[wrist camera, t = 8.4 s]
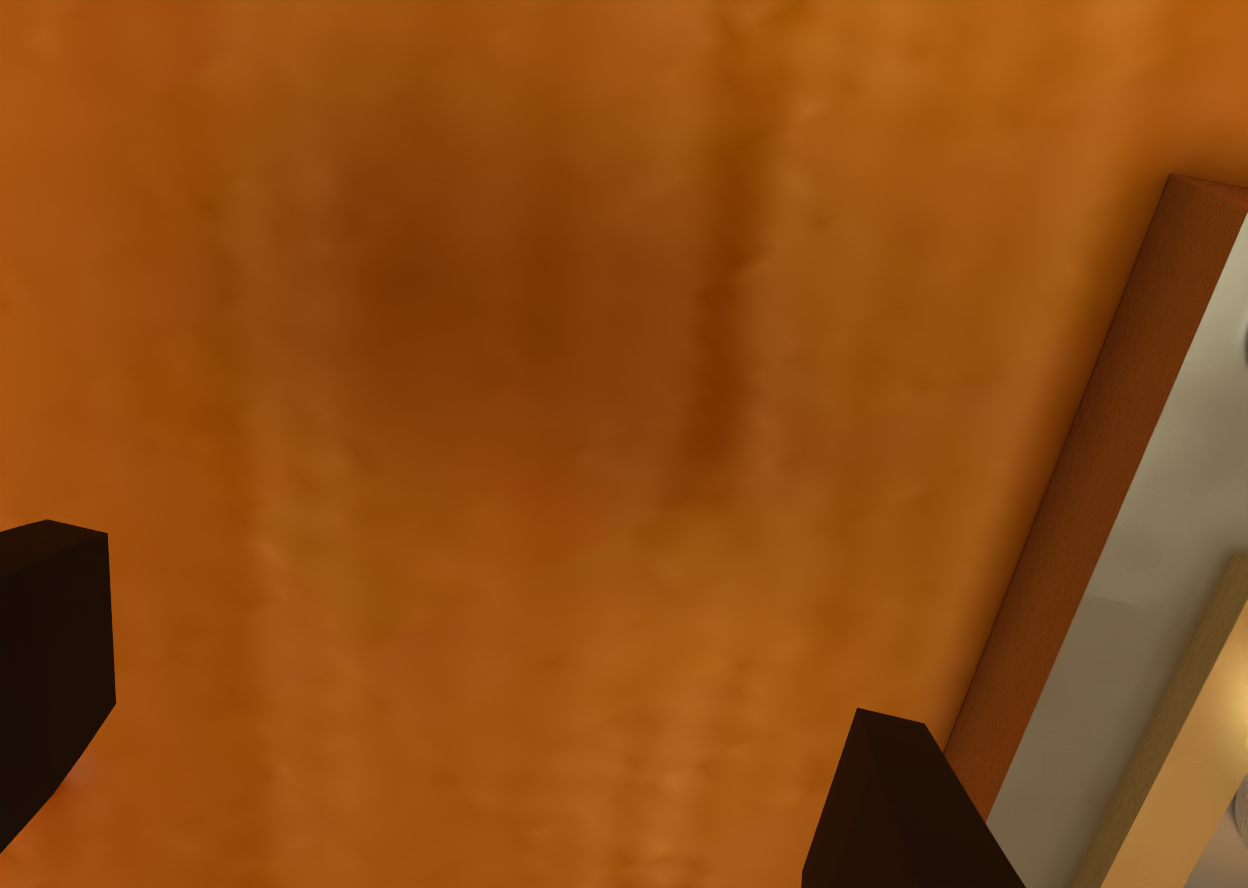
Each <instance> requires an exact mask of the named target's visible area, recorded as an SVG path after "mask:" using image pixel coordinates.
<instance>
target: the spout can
mask: <svg viewBox="0 0 1248 888" xmlns="http://www.w3.org/2000/svg"><path fill="white" fill-rule="evenodd" d="M1235 819H1236V824H1237V829H1238V831H1239V833H1240V836H1241V838H1242V840H1243V842H1244V844H1245V846H1246V847H1247V849H1248V772H1247V774H1246V775H1245V777H1244V779H1243V781H1242V783H1241V784H1240V786H1239V788H1238V791H1237V795H1236V801H1235Z"/></svg>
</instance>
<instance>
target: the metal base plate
mask: <svg viewBox="0 0 1248 888" xmlns="http://www.w3.org/2000/svg"><path fill="white" fill-rule="evenodd" d="M944 756H945V758H946V759H947V761H948V763H949V764H950V766H951V768H952V769H953V771H954V772H955V774H956V776H957V777H958V779H959V781H960V782H961V784H962V786H963V787H964V789H965V791H966V792H967V794H968V795H969V797H970V799H971V800H972V802H973V804H974V805H975V807H976V809H977V810H978V812H979V813H980V815H981V817H982V818H983V820H984V822H985V823H986V825H987V826H988V828H989V830H990V831H991V833H992V835H993V836H994V838H995V839H996V841H997V843H998V844H999V846H1000V847H1001V849H1002V851H1003V852H1004V854H1005V855H1006V857H1007V858H1008V860H1009V862H1010V863H1011V865H1012V866H1013V868H1014V869H1015V871H1016V873H1017V874H1018V876H1019V877H1020V879H1021V880H1022V882H1023V883H1024V885H1025V886H1026V888H1248V849H1247V847H1246V846H1245V844H1244V842H1243V840H1242V838H1241V836H1240V833H1239V831H1238V829H1237V824H1236V819H1235V801H1236V795H1237V791H1238V788H1239V786H1240V784H1241V783H1242V781H1243V779H1244V777H1245V775H1246V774H1247V772H1248V189H1245V188H1240V187H1235V186H1230V185H1225V184H1220V183H1215V182H1210V181H1204V180H1199V179H1194V178H1189V177H1184V176H1179V175H1174V174H1171V175H1170V177H1169V180H1168V182H1167V185H1166V187H1165V190H1164V193H1163V195H1162V198H1161V200H1160V203H1159V205H1158V208H1157V210H1156V213H1155V216H1154V218H1153V221H1152V223H1151V226H1150V228H1149V231H1148V233H1147V236H1146V239H1145V241H1144V244H1143V246H1142V249H1141V251H1140V254H1139V256H1138V259H1137V262H1136V264H1135V267H1134V269H1133V272H1132V274H1131V277H1130V279H1129V282H1128V285H1127V287H1126V290H1125V292H1124V295H1123V297H1122V300H1121V302H1120V305H1119V308H1118V310H1117V313H1116V315H1115V318H1114V320H1113V323H1112V326H1111V328H1110V331H1109V333H1108V336H1107V338H1106V341H1105V343H1104V346H1103V349H1102V351H1101V354H1100V356H1099V359H1098V361H1097V364H1096V366H1095V369H1094V372H1093V374H1092V377H1091V379H1090V382H1089V384H1088V387H1087V389H1086V392H1085V395H1084V397H1083V400H1082V402H1081V405H1080V407H1079V410H1078V412H1077V415H1076V418H1075V420H1074V423H1073V425H1072V428H1071V430H1070V433H1069V435H1068V438H1067V441H1066V443H1065V446H1064V448H1063V451H1062V453H1061V456H1060V458H1059V461H1058V464H1057V466H1056V469H1055V471H1054V474H1053V476H1052V479H1051V482H1050V484H1049V487H1048V489H1047V492H1046V494H1045V497H1044V499H1043V502H1042V505H1041V507H1040V510H1039V512H1038V515H1037V517H1036V520H1035V522H1034V525H1033V528H1032V530H1031V533H1030V535H1029V538H1028V540H1027V543H1026V545H1025V548H1024V551H1023V553H1022V556H1021V558H1020V561H1019V563H1018V566H1017V568H1016V571H1015V574H1014V576H1013V579H1012V581H1011V584H1010V586H1009V589H1008V591H1007V594H1006V597H1005V599H1004V602H1003V604H1002V607H1001V609H1000V612H999V614H998V617H997V620H996V622H995V625H994V627H993V630H992V632H991V635H990V638H989V640H988V643H987V645H986V648H985V650H984V653H983V655H982V658H981V661H980V663H979V666H978V668H977V671H976V673H975V676H974V678H973V681H972V684H971V686H970V689H969V691H968V694H967V696H966V699H965V701H964V704H963V707H962V709H961V712H960V714H959V717H958V719H957V722H956V724H955V727H954V730H953V732H952V735H951V737H950V740H949V742H948V745H947V747H946V750H945V753H944Z"/></svg>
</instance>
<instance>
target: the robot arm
mask: <svg viewBox="0 0 1248 888" xmlns="http://www.w3.org/2000/svg"><path fill="white" fill-rule="evenodd" d="M115 704H116V693H115V673H114V652H113V632H112V612H111V591H110V571H109V551H108V533H104V532H100V531H95V530H91V529H87V528H83V527H78V526H74V525H70V524H65V523H61V522H57V521H52V520H43V521H39V522H35V523H31V524H27V525H23V526H20V527H16V528H13V529H9V530H6V531H2V532H0V854H1V852H2V851H3V850H4V849H5V848H6V847H7V846H8V845H9V843H10V842H11V841H12V840H13V839H14V838H15V837H16V836H17V835H18V833H19V832H20V831H21V830H22V829H23V828H24V827H25V826H26V824H27V823H28V822H29V821H30V820H31V819H32V818H33V817H34V815H35V814H36V813H37V812H38V811H39V810H40V809H41V807H42V806H43V805H44V804H45V803H46V802H47V801H48V799H49V798H50V797H51V796H52V795H53V794H54V792H55V791H56V789H57V788H58V787H59V785H60V784H61V783H62V781H63V780H64V778H65V777H66V776H67V774H68V773H69V771H70V770H71V769H72V767H73V766H74V765H75V763H76V762H77V760H78V759H79V758H80V756H81V755H82V754H83V752H84V751H85V749H86V748H87V746H88V745H89V743H90V742H91V740H92V739H93V737H94V736H95V734H96V733H97V731H98V730H99V728H100V727H101V725H102V724H103V722H104V721H105V719H106V718H107V716H108V715H109V713H110V712H111V710H112V709H113V707H114V706H115ZM801 888H1026V886H1025V885H1024V883H1023V882H1022V880H1021V879H1020V877H1019V876H1018V874H1017V873H1016V871H1015V869H1014V868H1013V866H1012V865H1011V863H1010V862H1009V860H1008V858H1007V857H1006V855H1005V854H1004V852H1003V851H1002V849H1001V847H1000V846H999V844H998V843H997V841H996V839H995V838H994V836H993V835H992V833H991V831H990V830H989V828H988V826H987V825H986V823H985V822H984V820H983V818H982V817H981V815H980V813H979V812H978V810H977V809H976V807H975V805H974V804H973V802H972V800H971V799H970V797H969V795H968V794H967V792H966V791H965V789H964V787H963V786H962V784H961V782H960V781H959V779H958V777H957V776H956V774H955V772H954V771H953V769H952V768H951V766H950V764H949V763H948V761H947V759H946V758H945V756H944V754H943V753H942V751H941V750H940V748H939V746H938V745H937V743H936V741H935V740H934V738H933V737H932V735H931V733H930V732H929V730H928V729H927V727H926V725H925V724H924V723H920V722H916V721H912V720H908V719H903V718H899V717H895V716H890V715H886V714H882V713H878V712H873V711H869V710H865V709H860V708H857V710H856V713H855V716H854V719H853V722H852V725H851V728H850V731H849V734H848V737H847V740H846V743H845V746H844V749H843V752H842V755H841V758H840V761H839V764H838V767H837V770H836V773H835V775H834V778H833V781H832V784H831V787H830V790H829V793H828V796H827V799H826V802H825V805H824V808H823V811H822V814H821V817H820V820H819V823H818V826H817V829H816V832H815V835H814V838H813V841H812V844H811V847H810V850H809V853H808V856H807V859H806V862H805V865H804V868H803V871H802V885H801Z"/></svg>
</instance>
